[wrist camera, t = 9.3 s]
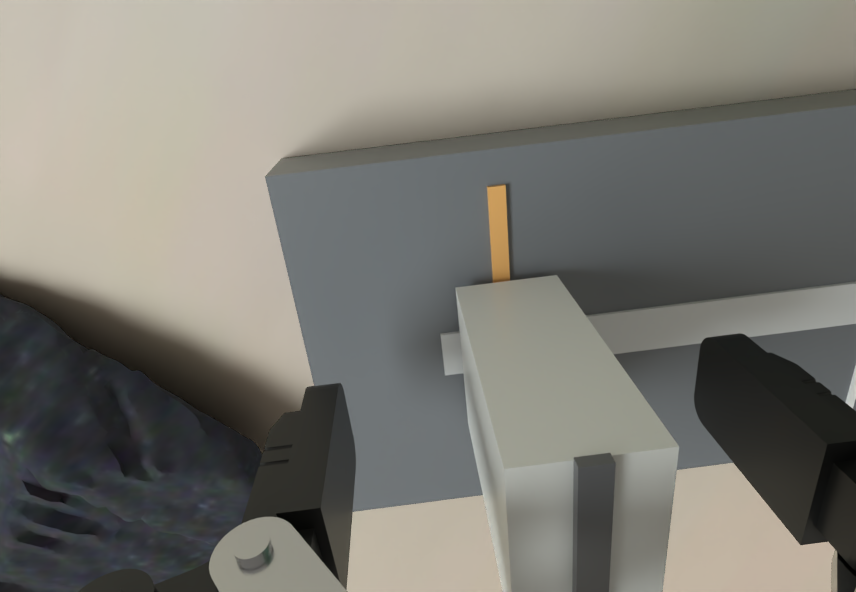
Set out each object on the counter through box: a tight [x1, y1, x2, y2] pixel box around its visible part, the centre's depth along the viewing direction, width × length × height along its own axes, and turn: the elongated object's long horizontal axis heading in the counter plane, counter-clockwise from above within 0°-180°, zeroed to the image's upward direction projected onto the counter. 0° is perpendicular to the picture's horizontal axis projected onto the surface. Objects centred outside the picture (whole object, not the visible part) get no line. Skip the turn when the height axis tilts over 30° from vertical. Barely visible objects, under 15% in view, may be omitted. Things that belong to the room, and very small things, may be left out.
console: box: [265, 89, 856, 512], centre depth 15 cm, size 20×10×2 cm, turn 96°
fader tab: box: [456, 275, 679, 592], centre depth 11 cm, size 2×4×6 cm, turn 6°
